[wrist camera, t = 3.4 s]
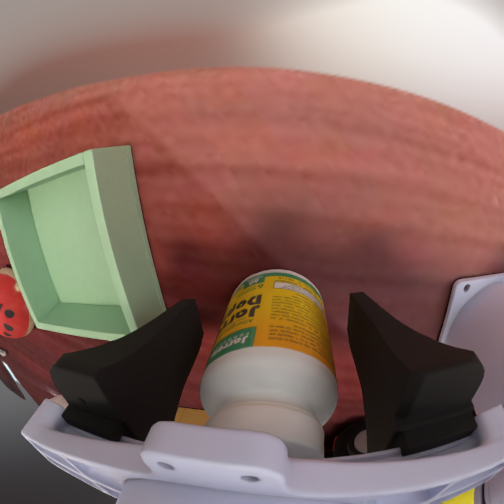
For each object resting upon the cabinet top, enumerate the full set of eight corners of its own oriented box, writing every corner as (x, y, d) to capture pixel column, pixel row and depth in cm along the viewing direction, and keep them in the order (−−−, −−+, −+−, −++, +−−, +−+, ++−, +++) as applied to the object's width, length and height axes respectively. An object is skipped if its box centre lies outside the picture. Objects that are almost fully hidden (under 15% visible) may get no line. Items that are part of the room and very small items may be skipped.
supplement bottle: (289, 355, 17) (281, 495, 8) (215, 317, 16) (159, 456, 8) (343, 295, 15) (380, 449, 6) (260, 247, 14) (218, 398, 6)
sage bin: (130, 144, 13) (91, 148, 10) (167, 310, 17) (144, 345, 14) (26, 182, 15) (-8, 193, 12) (62, 305, 18) (36, 328, 15)
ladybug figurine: (-6, 294, 20) (-25, 309, 17) (9, 245, 17) (-18, 261, 14) (28, 340, 22) (10, 358, 19) (50, 304, 19) (24, 326, 15)
